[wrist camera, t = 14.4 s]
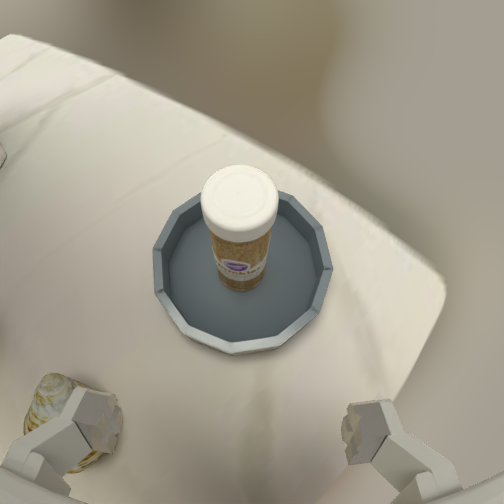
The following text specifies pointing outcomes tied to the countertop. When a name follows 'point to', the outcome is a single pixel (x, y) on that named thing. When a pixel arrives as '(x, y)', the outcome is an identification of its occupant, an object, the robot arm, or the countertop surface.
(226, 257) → the sprinkles bottle
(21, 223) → the countertop surface
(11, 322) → the countertop surface
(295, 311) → the slate bowl
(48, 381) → the seashell
